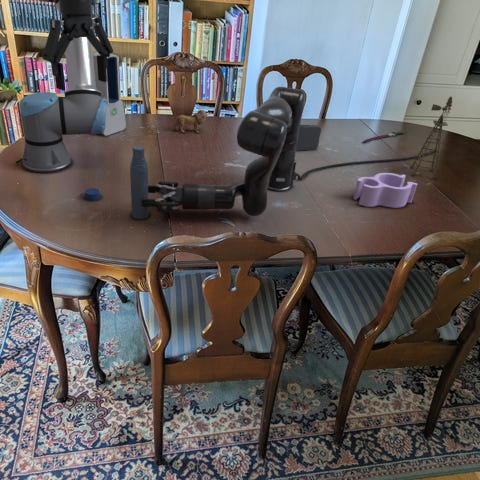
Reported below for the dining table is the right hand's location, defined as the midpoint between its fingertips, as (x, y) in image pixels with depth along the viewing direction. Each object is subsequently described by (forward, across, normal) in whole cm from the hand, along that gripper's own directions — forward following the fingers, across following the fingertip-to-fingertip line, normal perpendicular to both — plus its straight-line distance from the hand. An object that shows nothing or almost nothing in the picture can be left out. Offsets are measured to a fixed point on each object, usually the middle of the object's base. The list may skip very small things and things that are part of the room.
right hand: (142, 195), depth 134 cm
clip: (-80, -12, +6) cm, 81 cm away
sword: (-106, -72, +6) cm, 129 cm away
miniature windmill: (-107, -35, +6) cm, 112 cm away
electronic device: (+16, -68, +6) cm, 70 cm away
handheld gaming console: (-58, -54, +6) cm, 79 cm away
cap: (+15, -10, +4) cm, 19 cm away
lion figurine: (-17, -71, +6) cm, 73 cm away
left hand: (+15, -10, -28) cm, 33 cm away
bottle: (+1, 0, +6) cm, 6 cm away
